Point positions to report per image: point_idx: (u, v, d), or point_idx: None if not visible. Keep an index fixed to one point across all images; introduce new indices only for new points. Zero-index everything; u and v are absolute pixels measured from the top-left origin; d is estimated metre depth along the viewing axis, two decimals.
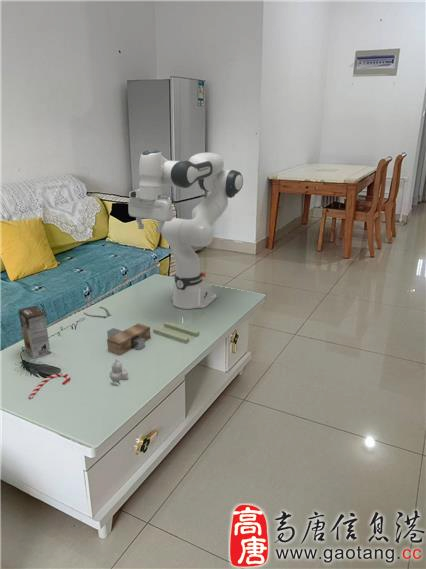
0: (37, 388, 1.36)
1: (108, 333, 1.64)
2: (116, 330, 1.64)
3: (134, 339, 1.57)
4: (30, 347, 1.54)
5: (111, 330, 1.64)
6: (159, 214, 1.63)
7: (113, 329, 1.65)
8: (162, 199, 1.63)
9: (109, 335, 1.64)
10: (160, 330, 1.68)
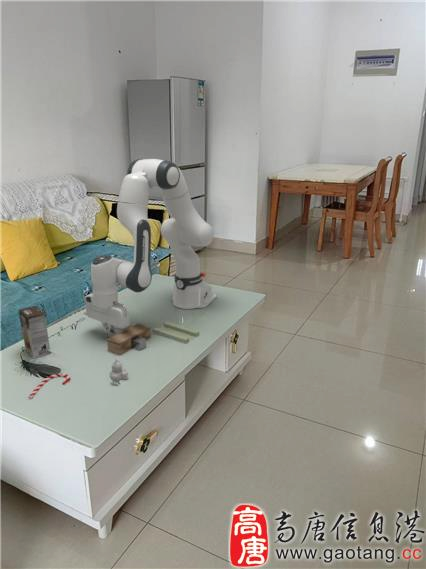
0: (37, 388, 1.36)
1: (109, 333, 1.64)
2: (117, 330, 1.64)
3: (135, 339, 1.57)
4: (30, 347, 1.54)
5: (112, 330, 1.64)
6: (115, 321, 1.59)
7: (114, 329, 1.65)
8: (117, 306, 1.58)
9: (110, 335, 1.64)
10: (160, 330, 1.68)
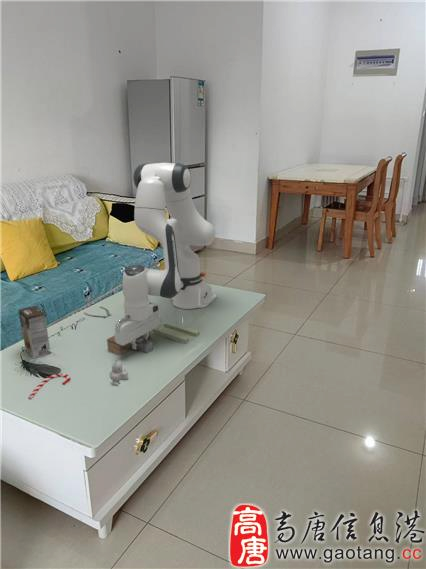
0: (37, 388, 1.35)
1: None
2: None
3: (142, 342, 1.55)
4: (30, 347, 1.54)
5: None
6: None
7: None
8: None
9: None
10: (160, 330, 1.68)
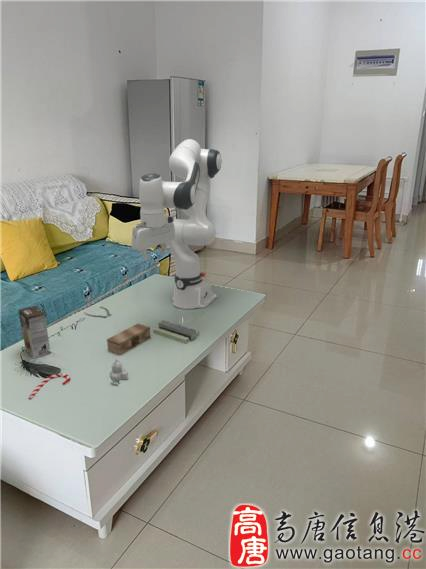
0: (37, 388, 1.35)
1: (159, 325, 1.70)
2: (167, 322, 1.71)
3: (186, 330, 1.64)
4: (30, 347, 1.54)
5: (162, 322, 1.71)
6: None
7: (164, 321, 1.72)
8: None
9: (160, 327, 1.70)
10: (160, 330, 1.68)
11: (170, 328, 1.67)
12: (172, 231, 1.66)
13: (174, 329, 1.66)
